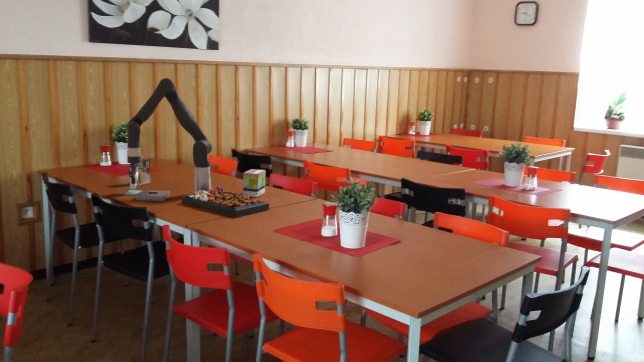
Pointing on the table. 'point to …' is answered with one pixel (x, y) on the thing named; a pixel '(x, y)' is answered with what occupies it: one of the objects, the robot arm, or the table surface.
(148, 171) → the coffee box
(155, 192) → the socket block
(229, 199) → the food platter
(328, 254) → the table surface
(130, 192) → the teal square tile
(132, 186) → the cream rounded tapered piece
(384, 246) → the table surface
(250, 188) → the tea box
